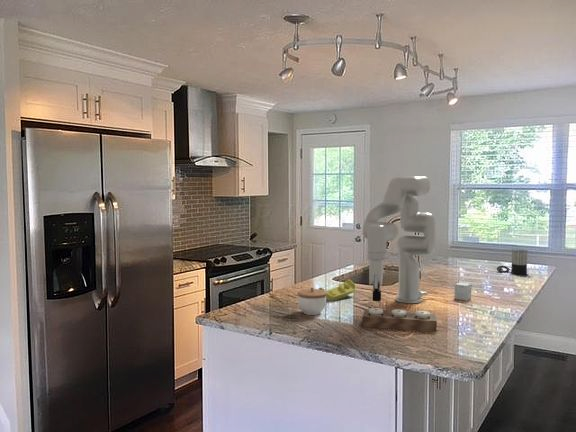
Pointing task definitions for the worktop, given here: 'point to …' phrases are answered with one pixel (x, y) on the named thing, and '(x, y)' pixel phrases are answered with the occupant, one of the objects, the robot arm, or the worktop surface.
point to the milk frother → (517, 263)
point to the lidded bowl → (312, 301)
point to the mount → (399, 321)
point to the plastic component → (340, 291)
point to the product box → (463, 291)
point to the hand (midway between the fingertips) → (376, 300)
